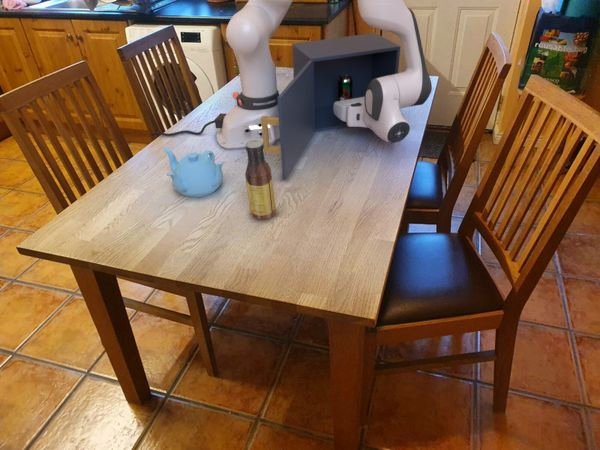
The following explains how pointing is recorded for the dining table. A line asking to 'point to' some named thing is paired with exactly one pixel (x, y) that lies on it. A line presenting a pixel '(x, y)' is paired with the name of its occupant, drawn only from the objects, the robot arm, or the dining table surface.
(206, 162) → the teapot
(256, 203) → the sauce bottle
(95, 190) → the dining table surface
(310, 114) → the cupboard door
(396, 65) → the cupboard
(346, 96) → the soda can
